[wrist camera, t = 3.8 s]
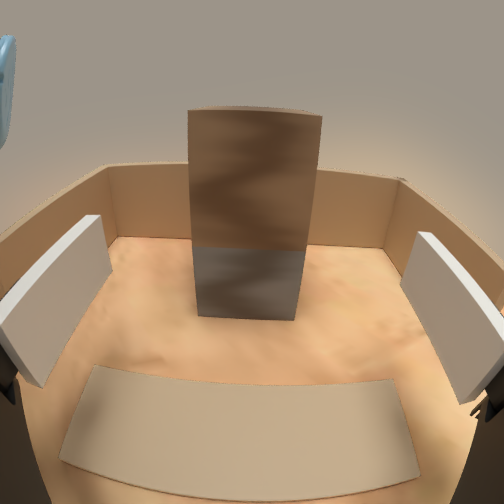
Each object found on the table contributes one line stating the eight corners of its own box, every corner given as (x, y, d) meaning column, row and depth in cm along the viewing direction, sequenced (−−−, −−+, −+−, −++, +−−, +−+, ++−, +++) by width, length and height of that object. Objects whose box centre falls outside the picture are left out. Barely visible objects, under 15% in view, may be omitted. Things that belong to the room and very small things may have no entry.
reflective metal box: (198, 316, 18) (187, 110, 12) (210, 264, 23) (209, 106, 17) (294, 320, 18) (322, 116, 12) (286, 267, 23) (302, 110, 17)
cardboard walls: (-15, 419, 8) (-88, 326, 4) (113, 231, 27) (103, 164, 24) (497, 443, 8) (580, 358, 5) (387, 243, 27) (403, 178, 24)
